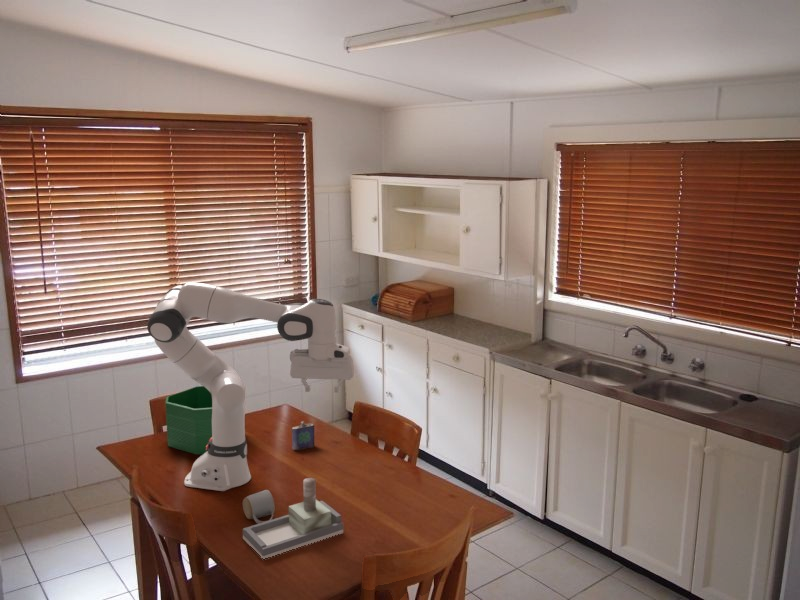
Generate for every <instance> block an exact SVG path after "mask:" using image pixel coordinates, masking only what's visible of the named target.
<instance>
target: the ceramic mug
mask: <svg viewBox="0 0 800 600" xmlns="http://www.w3.org/2000/svg"><path fill="white" fill-rule="evenodd" d="M275 509H276V508H275V500H274V498H273V495H272V493H271V491H270V490H269V489H264V490H262V491H258V492H256V493H253V494H249V495H247V496H246V497H244V498H243V500H242V510H243V513H244V515H245V517H246V518H247V519H248V520H254V521H255V523H256V524H259V523H263V522H266V521H269V520H272V519H274V513H275ZM267 516H270V518H269V520H264V521H263V520H259V518H262V517H267Z"/></svg>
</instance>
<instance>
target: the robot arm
mask: <svg viewBox="0 0 800 600" xmlns="http://www.w3.org/2000/svg"><path fill="white" fill-rule="evenodd" d="M192 318H200V319H203V320H206V321H207V320H208V321H212V322H215V323H221V324H222V323H223V324H233V323H235V322H239V321H242V320H247V319H259V320H263V321H268V322H272V323H277V324H276V326H277V327H276V329H277V332H278V335H280V337H281V338H283V339H284V340H286V341H289V342H294V341H296V342H297V341H302V340H303V341H304V340H307V349H305V348H304V349H299V348H295V349H293V350H291V351H290V353H289V360H290V373H289V374H290V377H291V378H292V379H300V380H301V383H302V385H303V386H304V392H307V393H308V392H309V393H310V392H311V386H312V385H311V384H308V383H307V380H308V379H310V380H312V379H313V380H315V379H316V380H337V383H338V384H337V385H334V390H333V391H334V392H333V393H336V394H337V393H338V394H339V393H340V390H341V389H340V388H341V386H342V384H343V381H345V380H346V381H347V380H348V381H351V380H352V379H353V378H354V376H355V367H354V366H355V365H354V360H353V358H352V356H351V355H350V353H351V349H350V347H349V346H346V345H342V344H340V343H337V340H336V339H337V338H336V333H335V332H336V329H337V328H336V327H337V322H336V321H337V319H336V309H335V306H334V304H333V303H332V302H331V301H329V300H327V299H324V298H312V299H309V301H308V302H306V303H303V302H294V303H287V304H286V303H280V302H275V301H270V300H265V299H261V298H256V297H252V296H249V295H246V294H245V293H240V292H237V291H235V290H232V289H229V288H226V287H223V286H218V285H214V284H210V283H204V282H195V281H193V282H192V281H189V282H186V283H184V284H183V285H181V284H179V285H175V286H173V287H172V288H170V289H168V291H166V293H165V295H164V296H163V297H162V298H161V299H160V300H159V301H158V303H157V304H156V307H155V309H154V311H153V312H152V314H151V315H150V317H148V320H147V328H146V329H147V331H148V334H149V335H150V336H151V337H152V339H153V341H154V342H155V344H156V346H157V347H158V348H159V349H160V351H161V352H162V353H163V354H164V355H165V356H166V357H167V358H168V359H169V361H171V362H172V363H173V364H174V365H175V366H176V367H177V368H178V369H180V370H181V372H183V373H184V374H185V375H187V376H188V377H189V378H190V379H192V380H193V381H195V382H197V383H198V384H200V385H201V386H204V387H205V388H206V389H207V390H208V391H209V392H210V393H211V395H212V437H211V439H210V440H209V442H208V443H207V446H206V450H208V451H207V452H206V453H204V454H201V455H200V456H199V457H197V459H195V461H194V462H193V464H192V466H191V470H190V472H188V473H187V475H186V476H185V478H184V481H183V484H184V486H185V487H188V488H189V487H190V488H196V489H197V488H198V489H203V490H204V489H205V490H211V491H212V490H213V491H217V492H218V491H220V492H225V491H227V490H230V489H233V488H236V487H240V486H242V485H245V484H247V483H248V482H249V481H250V480H251V479H252V475H251V473H250V468H249V465H248V459H247V455H248V444H247V438H246V429H245V428H246V427H245V426H246V425H245V416H246V415H245V413H246V402H247V399H246V398H247V397H246V396H247V395H246V394H247V390H246V385H245V384H244V382H243V380H242V378H241V377H240V374H239V373H238V372H237V371H236V370H235V368H233V367H231V366H230V364H228V363H227V362H226V361H224V360H223V359H222V358H221V357H220V356H217V354H216V353H214V352H213V351H212V350H211V349H210V348H208V347H207V346H206V344H205V343H203V342H202V341H201V340H200V339H199V338H197V336H195V335H194V334H193V332H192V331H190V330H189V329H188V324H189V323H190V321H191V319H192Z"/></svg>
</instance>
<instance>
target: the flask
mask: <svg viewBox="0 0 800 600" xmlns="http://www.w3.org/2000/svg"><path fill="white" fill-rule="evenodd" d="M291 434H292V435H291V440H292V441H291V442H292V443H291V449H292V451H299V450H305V449H308V448H309V449H310V448H314V447H315V424H314V423H305V421H304V420H301V421H300V425H298V426H297V425H296V426H292V428H291Z"/></svg>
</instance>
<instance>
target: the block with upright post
mask: <svg viewBox="0 0 800 600" xmlns="http://www.w3.org/2000/svg"><path fill="white" fill-rule="evenodd" d="M302 484H303V485H302V486H303V501H301V502H298V503H294V504H291V505H288V515H289V524H290V525H292V526H293V527H294V528H295V529H296V530H297V531H298V532H299V533H300V534H305V533H308V532H311V531H314V530H317V529H320V528H323V527H326V526H329V525H331V511H330V510H329V509H328V508H327V507H325V506H324V505H323V504H322V503H320V502H319V500H318V499H317V495H316V485H317V484H316V479H315V478H312V477H307V478H304V479H303V481H302Z"/></svg>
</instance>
